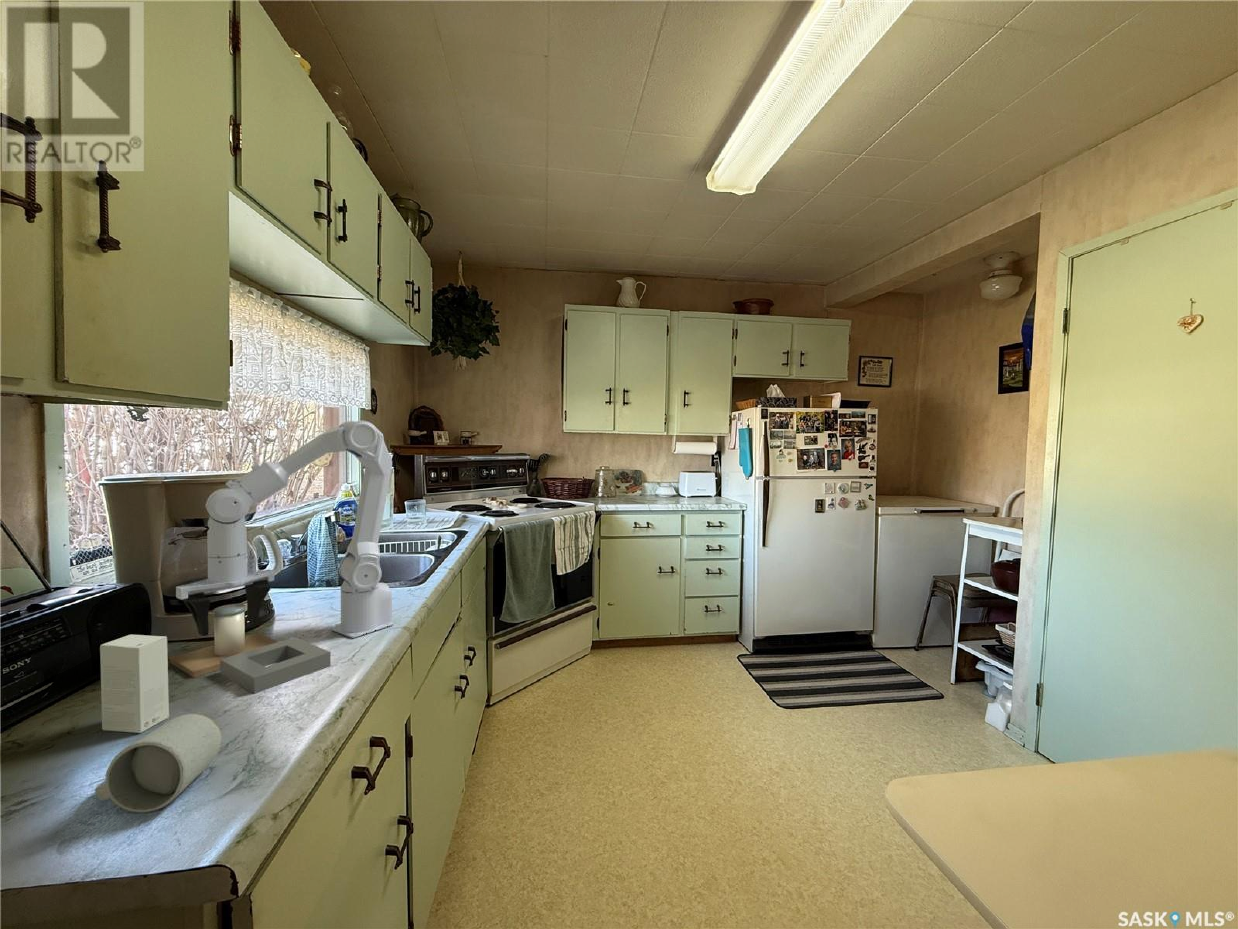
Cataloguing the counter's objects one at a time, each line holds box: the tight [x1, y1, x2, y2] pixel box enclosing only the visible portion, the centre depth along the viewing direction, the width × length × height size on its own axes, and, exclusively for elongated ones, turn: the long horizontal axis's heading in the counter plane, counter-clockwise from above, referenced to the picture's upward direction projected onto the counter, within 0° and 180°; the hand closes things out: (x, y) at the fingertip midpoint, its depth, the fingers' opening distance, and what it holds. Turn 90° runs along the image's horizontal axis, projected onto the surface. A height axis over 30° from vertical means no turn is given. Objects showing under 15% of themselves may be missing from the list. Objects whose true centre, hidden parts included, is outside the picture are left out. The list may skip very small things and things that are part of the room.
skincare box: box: [99, 634, 170, 734], centre depth 71 cm, size 6×4×12 cm
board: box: [169, 632, 279, 678], centre depth 94 cm, size 14×10×1 cm
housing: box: [219, 636, 331, 694], centre depth 89 cm, size 12×12×2 cm
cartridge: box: [212, 603, 246, 656], centre depth 93 cm, size 5×5×8 cm
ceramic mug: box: [94, 713, 223, 814], centre depth 58 cm, size 11×8×8 cm
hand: (228, 627), depth 93 cm, fingers open, 7 cm apart
